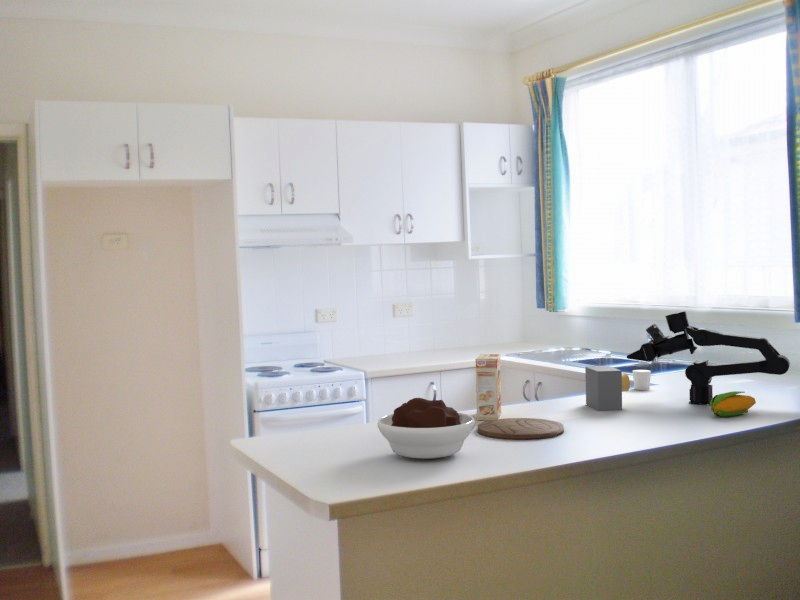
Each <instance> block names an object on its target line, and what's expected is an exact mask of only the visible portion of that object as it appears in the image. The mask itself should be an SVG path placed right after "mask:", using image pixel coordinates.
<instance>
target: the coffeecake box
mask: <svg viewBox="0 0 800 600" xmlns="http://www.w3.org/2000/svg"><path fill="white" fill-rule="evenodd" d="M501 377H502V375H501V353H485V354H484V353H480V354H478V356H477V357H476V358H475V387H476V389H475V390H476V391H475V392H476V395H475V397H476V398H475V399H476V403H475V404H476V421H490V420H496V419H500V417H501V414H502V387H501V385H502V381H501Z"/></svg>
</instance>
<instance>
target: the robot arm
mask: <svg viewBox="0 0 800 600" xmlns="http://www.w3.org/2000/svg"><path fill="white" fill-rule="evenodd" d="M665 319H666V323H667V326H668V330H669V332H672V333H673V335H671V336H669V335H667V336H665V335H664V333H663V332H662V331H661V329H660V327H659V326H658V325H657V324H656V323H653V324H651V325H650V326H649V327H647V328H645V332H646V333H647V334H649V336H650V337H651V338H652V339H651V340H649V341H648V342H646V343H643V344H641V345H640V348H639V349H637V350H636V351H634V352H631V353H629V354H627V355H626V359H627V360H634V361H635V360H636V361H642V362H652V361H653V362H654V361H655V360H656V359H657V358H661V357H664V356H668V355H673V354H676V353H679V352H683V351H688V350H689V353H690V355H694V354H695V352H696V350H698V347H697V346H699V347H712V346H713V347H714V346H727V347H735V348H744V349H751V350H758V351H759V352H760V353H761V355H762V356H763V359H760V360H751V361H740V362H738V361H737V362H729V363H727V362H726V363H718V364H717V363H716V364H713V363H709V359H705V360H695V361H693V362H692V363H691V364H689V365H688V366H687V367H686V368H685V370H684V374H685V377H686V378H687V380H688V381H690V383H691V384H690V388H689V401H688V404H693V405H694V404H695V405H706V406H707V405H710V402H711V400H712V398H713V397H714V395H713V394H714V393H713V384H711V382H712V379H713V378H714V377H721V376H734V375H745V374H758V373H761V374H766V375H767V374H768V375H779V376H780V375H784V374H786V373H787V372H788V371H789V368H790V365H791V363H790V360H789V358H788V357H787V356H786V355H783V354H780V352H779V351H778V350H777V349H776V348H775V347H774V346H773V345H772V344H771V343H770V341H769V340H768V339H767V338H765V337H756V336H755V337H753V336H746V335H736V334H730V333H729V334H728V333H723V332H720V331H717V330H713V329H710V328H707V327H701V328H699V327H695V326H693V325H690V323H689V320H688V315H687V311H685V310H684V311H680V312H674V313H670V314H668V315H665ZM677 333H679V334H677ZM674 334H675V335H674Z"/></svg>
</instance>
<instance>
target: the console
mask: <svg viewBox="0 0 800 600" xmlns="http://www.w3.org/2000/svg"><path fill="white" fill-rule="evenodd" d="M584 370H585V405H586V404H587V405H586V406H588V405H589V406H588V407H591V408H592V409H593V410H595V411H597V412H602V411H603V412H605V411H623V392H622V374H623V372H622V370H620V369H618V368H615V367H612V366H609V365H597V366H596V365H595V366H585V367H584Z"/></svg>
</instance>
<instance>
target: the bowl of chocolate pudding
mask: <svg viewBox="0 0 800 600" xmlns="http://www.w3.org/2000/svg"><path fill="white" fill-rule="evenodd" d="M377 420H378V421H377V428H378V430H379V432H380V434H381V435H382V436H383V437H384V439H386V441H387V442H388V443H389V446H390V449H391V450H392V452H393V453H395V454H396V455H398V456H400V457H406V458H411V459H416V460H434V459H439V458H446V457H449V456H453V455H456V454H457V453H459V452H460V451H461V450H462V447H463V445H464V442H465V440H466V439H467V438H468V437H469V436H470V434H471V433H472V431H473V429H474V427H475V423H476V422H475V418H474V417H473V416H472V415H470V414H467V413H463V412H458V411H457V410H456V409H454V408H453V407H450V406H447V405H446V403H445V402H444V400H443V399H438V400H437V399H434V400H430V399H425V398H423V397H414V398H411V399H409V400H408V401H407V402H403V403H402V404H401V405H400V406H397V407H396V408H395V409H394V410H393V413H391V414H387V415H385V416H382V417H380V418H379V419H377Z"/></svg>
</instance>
